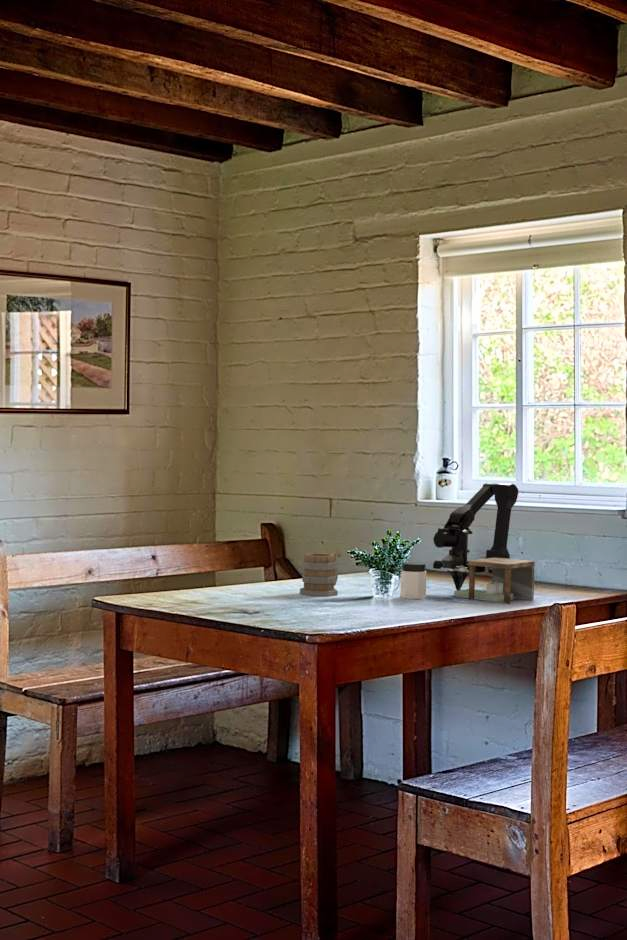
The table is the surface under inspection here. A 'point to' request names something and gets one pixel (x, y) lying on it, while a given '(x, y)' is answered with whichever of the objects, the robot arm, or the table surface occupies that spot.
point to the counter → (507, 576)
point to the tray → (485, 592)
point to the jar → (413, 580)
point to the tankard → (320, 574)
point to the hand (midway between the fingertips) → (458, 590)
